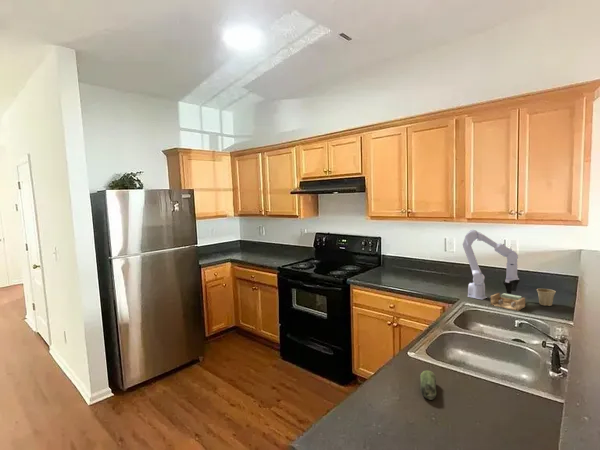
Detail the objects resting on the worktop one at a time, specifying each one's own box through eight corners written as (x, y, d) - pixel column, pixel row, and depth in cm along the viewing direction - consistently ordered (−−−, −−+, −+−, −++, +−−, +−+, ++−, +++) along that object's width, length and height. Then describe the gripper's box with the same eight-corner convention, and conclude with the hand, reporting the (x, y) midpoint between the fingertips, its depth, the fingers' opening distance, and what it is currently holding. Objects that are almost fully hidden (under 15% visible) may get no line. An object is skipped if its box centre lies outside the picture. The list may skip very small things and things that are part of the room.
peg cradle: (490, 304, 206) (490, 296, 206) (497, 301, 213) (498, 292, 213) (518, 310, 195) (518, 301, 194) (525, 306, 201) (525, 297, 201)
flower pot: (536, 301, 212) (537, 287, 211) (555, 303, 206) (556, 289, 205) (535, 305, 204) (535, 290, 204) (554, 308, 198) (555, 293, 198)
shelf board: (500, 300, 215) (500, 294, 214) (503, 299, 218) (503, 293, 217) (518, 304, 207) (518, 298, 207) (521, 302, 210) (521, 296, 210)
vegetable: (420, 380, 124) (420, 366, 124) (435, 382, 122) (435, 368, 122) (420, 401, 111) (420, 387, 110) (437, 404, 109) (437, 389, 109)
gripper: (514, 273, 203) (514, 295, 204) (523, 269, 212) (522, 291, 213) (501, 271, 209) (501, 293, 210) (510, 268, 218) (510, 289, 219)
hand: (511, 292), depth 212 cm, fingers open, 7 cm apart
